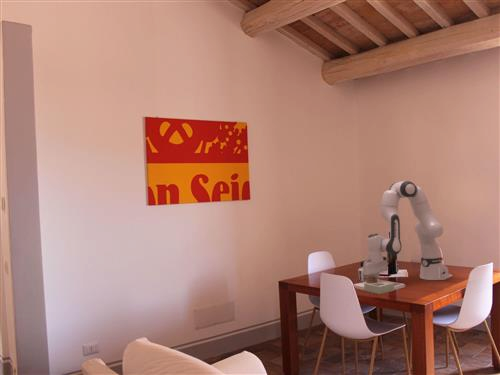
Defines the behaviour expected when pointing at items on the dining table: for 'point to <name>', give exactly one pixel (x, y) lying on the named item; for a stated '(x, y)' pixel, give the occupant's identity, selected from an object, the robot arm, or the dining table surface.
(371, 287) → the trap board
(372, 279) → the block
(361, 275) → the container
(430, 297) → the dining table surface
